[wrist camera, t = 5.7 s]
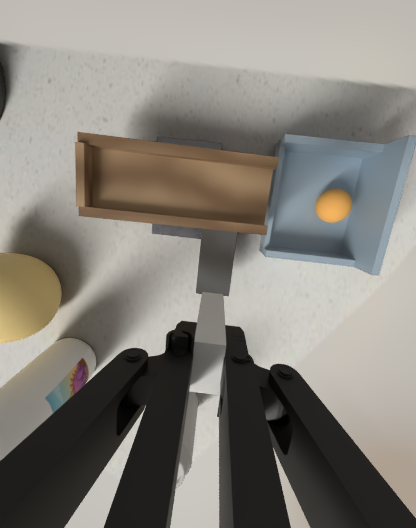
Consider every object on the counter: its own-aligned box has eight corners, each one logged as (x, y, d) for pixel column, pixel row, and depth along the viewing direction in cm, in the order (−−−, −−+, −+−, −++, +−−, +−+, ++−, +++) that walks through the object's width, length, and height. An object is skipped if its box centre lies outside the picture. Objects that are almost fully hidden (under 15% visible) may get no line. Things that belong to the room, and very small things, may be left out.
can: (149, 410, 41) (122, 491, 29) (157, 372, 39) (131, 442, 28) (193, 420, 41) (183, 504, 30) (202, 382, 39) (196, 456, 28)
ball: (303, 205, 30) (332, 206, 27) (322, 181, 31) (353, 180, 27) (316, 227, 32) (344, 231, 29) (333, 205, 33) (363, 207, 29)
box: (342, 259, 34) (378, 275, 26) (259, 250, 34) (271, 263, 26) (367, 153, 31) (417, 136, 23) (276, 144, 31) (295, 123, 23)
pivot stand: (211, 239, 34) (210, 243, 30) (153, 232, 34) (144, 236, 30) (221, 145, 31) (221, 135, 27) (159, 138, 31) (149, 128, 27)
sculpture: (-9, 241, 36) (-104, 256, 25) (73, 253, 35) (11, 274, 25) (-4, 314, 38) (-88, 355, 28) (72, 325, 38) (16, 371, 28)
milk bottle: (41, 360, 40) (-128, 508, 20) (66, 326, 38) (-93, 452, 19) (81, 387, 41) (-44, 553, 21) (107, 355, 39) (-4, 504, 20)
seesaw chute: (250, 295, 31) (256, 304, 28) (89, 281, 30) (78, 289, 27) (271, 161, 28) (280, 156, 25) (88, 138, 26) (75, 130, 23)
